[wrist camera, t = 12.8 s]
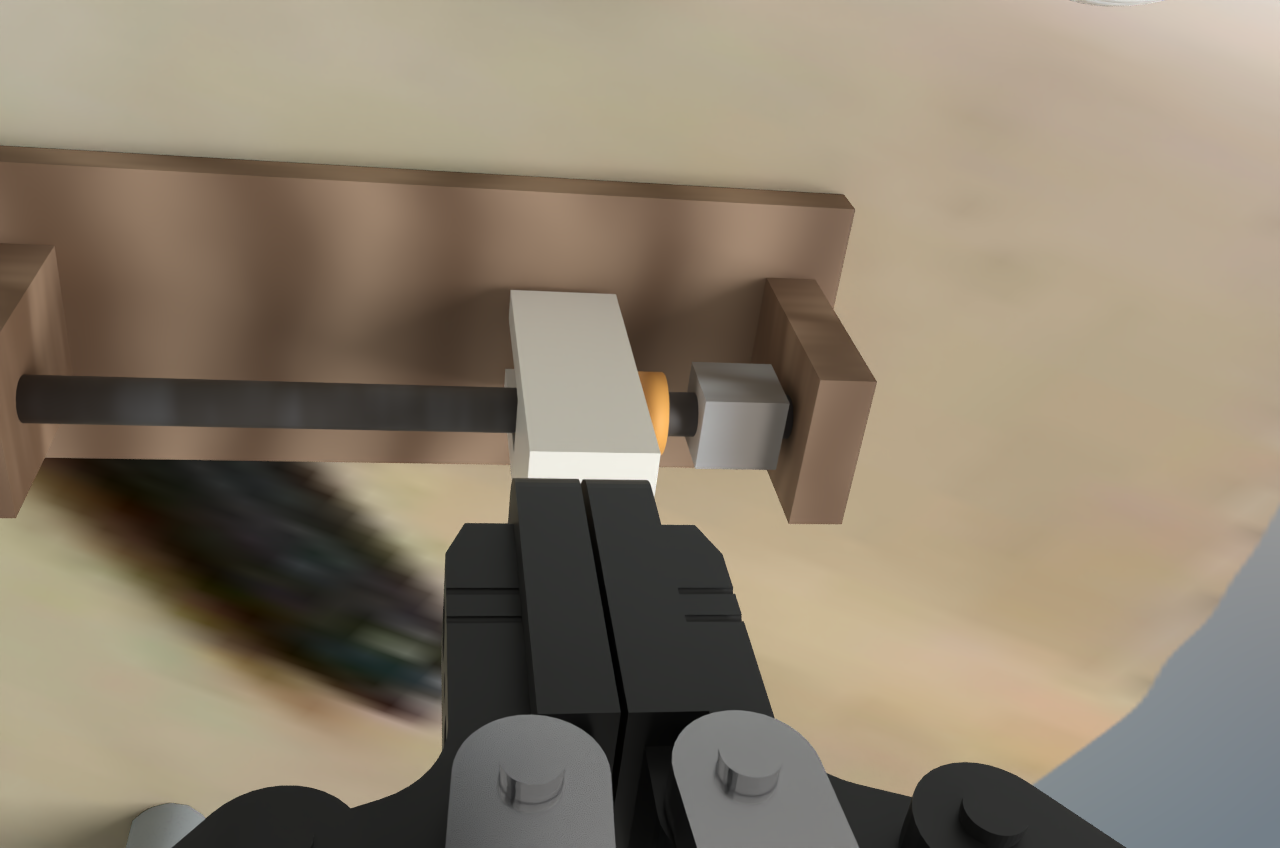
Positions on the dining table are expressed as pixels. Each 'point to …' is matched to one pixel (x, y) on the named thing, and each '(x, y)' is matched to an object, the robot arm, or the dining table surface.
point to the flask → (163, 826)
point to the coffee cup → (1116, 2)
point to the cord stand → (406, 315)
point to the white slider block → (577, 391)
